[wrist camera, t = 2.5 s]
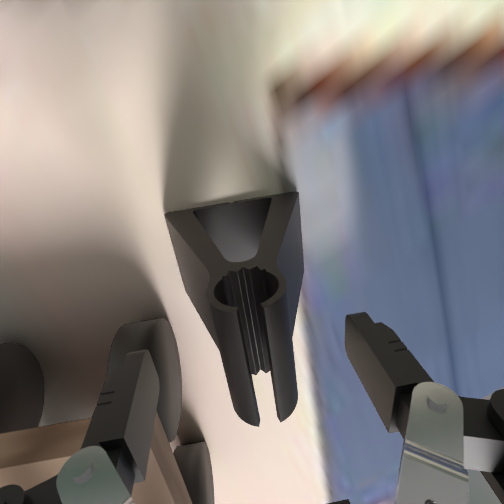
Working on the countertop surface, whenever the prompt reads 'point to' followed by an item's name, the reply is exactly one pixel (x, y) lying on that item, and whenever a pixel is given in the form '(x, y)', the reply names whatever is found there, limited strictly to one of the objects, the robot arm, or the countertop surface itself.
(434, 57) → the countertop surface
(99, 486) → the robot arm
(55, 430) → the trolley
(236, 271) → the phone stand
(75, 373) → the countertop surface
